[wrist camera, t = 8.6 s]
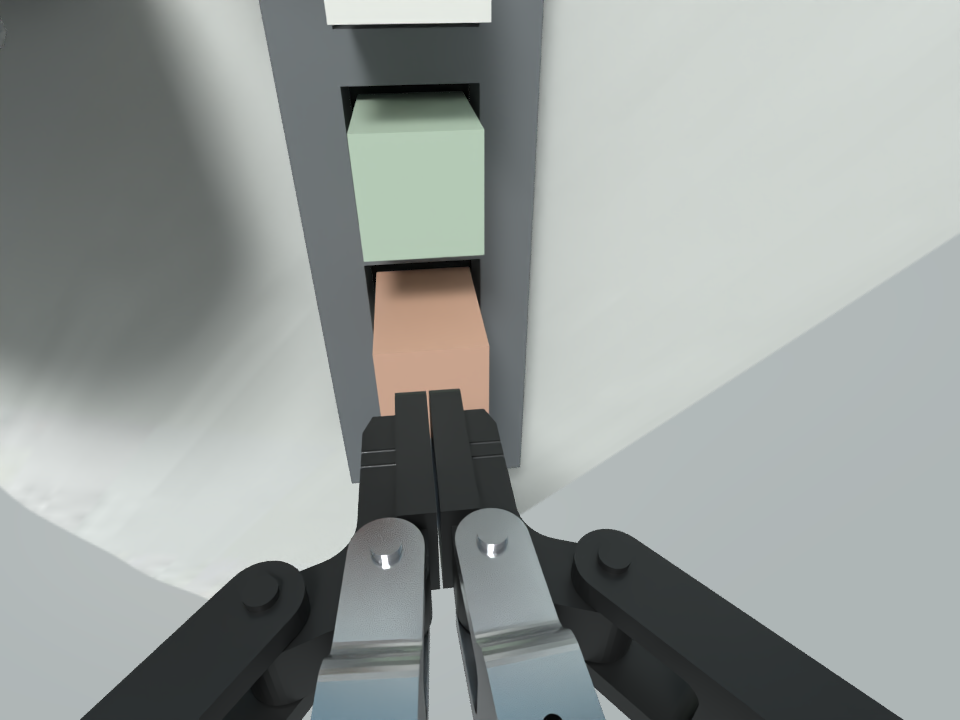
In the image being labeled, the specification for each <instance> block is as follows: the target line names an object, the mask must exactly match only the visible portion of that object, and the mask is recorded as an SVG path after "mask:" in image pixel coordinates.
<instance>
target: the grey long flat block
mask: <svg viewBox="0 0 960 720" xmlns="http://www.w3.org/2000/svg"><path fill="white" fill-rule="evenodd" d="M543 3H544V0H491V22H478V23H414V24H349V25H327V19H326V12H325V4H324V0H259V4H260V9H261V14H262V19H263V24H264V30H265V35H266V40H267V45H268V50H269V56H270V61H271V66H272V71H273V76H274V82H275V87H276V92H277V97H278V102H279V108H280V113H281V118H282V123H283V128H284V133H285V139H286V144H287V149H288V154H289V159H290V165H291V170H292V175H293V180H294V185H295V191H296V196H297V201H298V206H299V211H300V217H301V222H302V227H303V232H304V237H305V242H306V248H307V253H308V258H309V263H310V268H311V274H312V279H313V284H314V289H315V294H316V300H317V305H318V310H319V315H320V320H321V326H322V331H323V336H324V341H325V346H326V351H327V357H328V362H329V367H330V372H331V377H332V383H333V388H334V393H335V398H336V403H337V409H338V414H339V419H340V424H341V429H342V435H343V440H344V445H345V450H346V455H347V460H348V466H349V471H350V476H351V481H352V483H360V469H361V454H362V453H361V448H362V433H363V431H364V430H365V428H366V427H367V425H368V423H369V422H370V420H371V419H372V417H378V416H381V413H380V406H379V398H378V391H377V384H376V376H375V369H374V362H373V355H372V354H373V334H374V314H375V292H374V284H373V276H372V268H371V265H383V264H401V263H418V262H435V261H452V260H469V259H471V277H472V281H473V284H474V288H475V292H476V296H477V300H478V304H479V308H480V312H481V315H482V319H483V323H484V327H485V331H486V335H487V339H488V343H489V415H490V416H491V417H492V418H493V420H494V421H495V422H496V423H497V428H498V432H499V436H500V442H501V445H502V449H503V453H504V457H505V461H506V466H507V468H516V467H520V458H521V438H522V418H523V398H524V379H525V359H526V339H527V319H528V300H529V280H530V260H531V240H532V220H533V201H534V181H535V161H536V141H537V122H538V102H539V82H540V62H541V43H542V23H543ZM457 83H469V104H470V105H471V107H472V109H473V111H474V112H475V114H476V116H477V118H478V119H479V121H480V123H481V125H482V126H483V128H484V255H474V256H457V257H439V258H422V259H405V260H388V261H370V262H364V259H363V251H362V244H361V236H360V229H359V221H358V214H357V206H356V199H355V191H354V183H353V176H352V168H351V161H350V153H349V146H348V138H347V132H348V129H349V125H350V121H351V118H352V108H351V100H350V92H349V86H381V85H419V84H457Z"/></svg>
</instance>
